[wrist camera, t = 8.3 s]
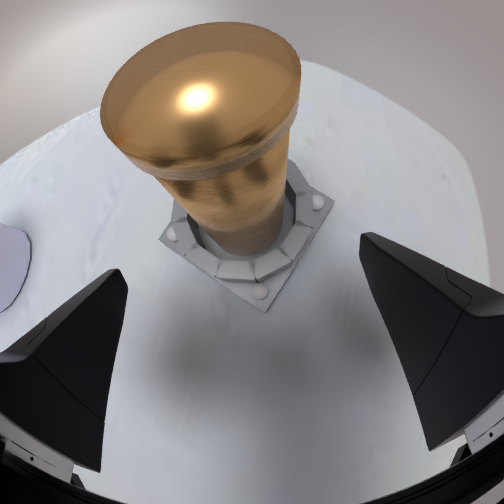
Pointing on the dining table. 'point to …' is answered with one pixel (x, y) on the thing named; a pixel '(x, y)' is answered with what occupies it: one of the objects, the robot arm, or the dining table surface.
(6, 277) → the soap bottle
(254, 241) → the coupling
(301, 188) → the socket
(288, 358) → the dining table surface
